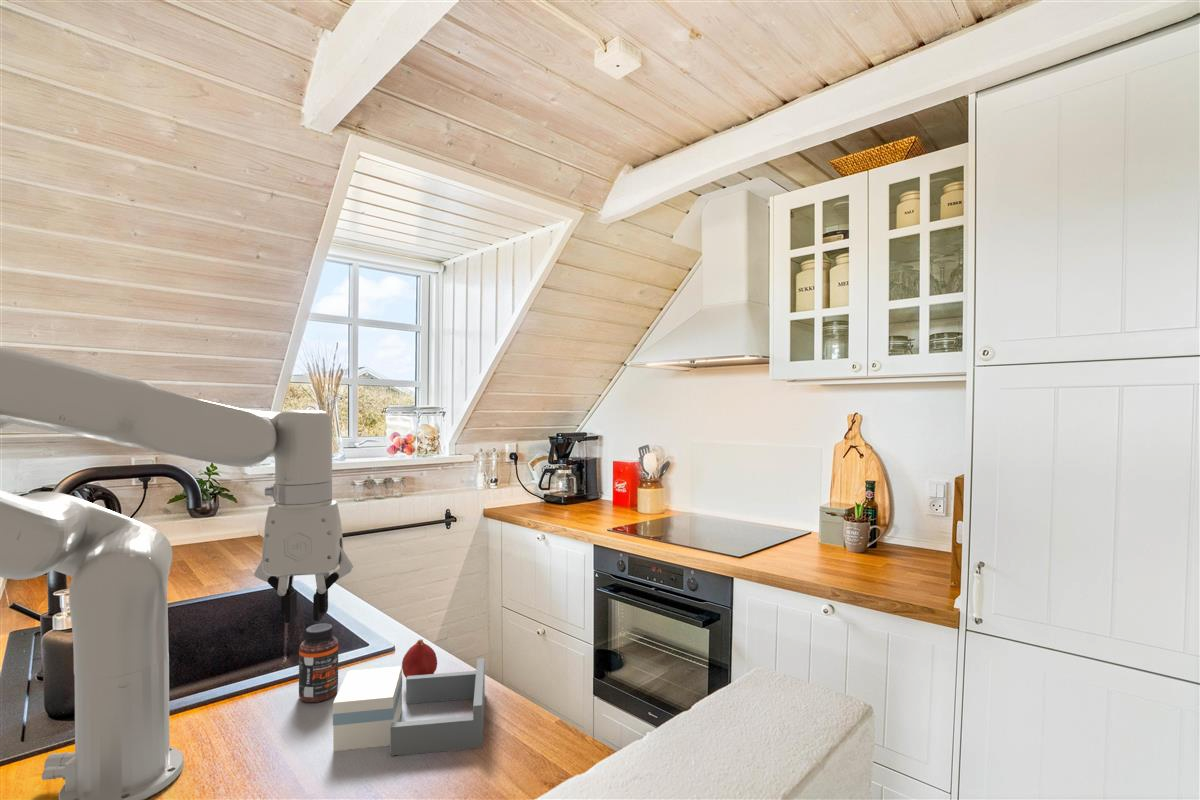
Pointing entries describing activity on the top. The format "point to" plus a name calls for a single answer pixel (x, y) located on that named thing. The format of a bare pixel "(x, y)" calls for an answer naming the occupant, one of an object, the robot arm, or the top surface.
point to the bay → (444, 730)
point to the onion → (419, 660)
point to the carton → (367, 708)
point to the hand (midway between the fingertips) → (304, 617)
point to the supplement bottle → (318, 664)
